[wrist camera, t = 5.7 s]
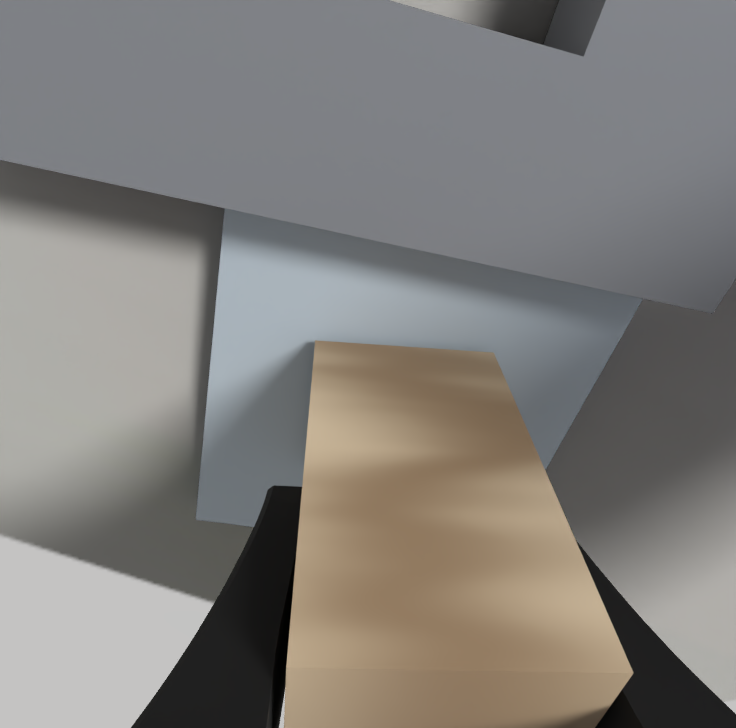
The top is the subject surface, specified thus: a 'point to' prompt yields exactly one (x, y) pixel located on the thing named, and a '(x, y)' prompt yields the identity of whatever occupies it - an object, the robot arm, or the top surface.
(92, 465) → the top surface
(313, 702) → the oak block
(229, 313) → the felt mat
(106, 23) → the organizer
